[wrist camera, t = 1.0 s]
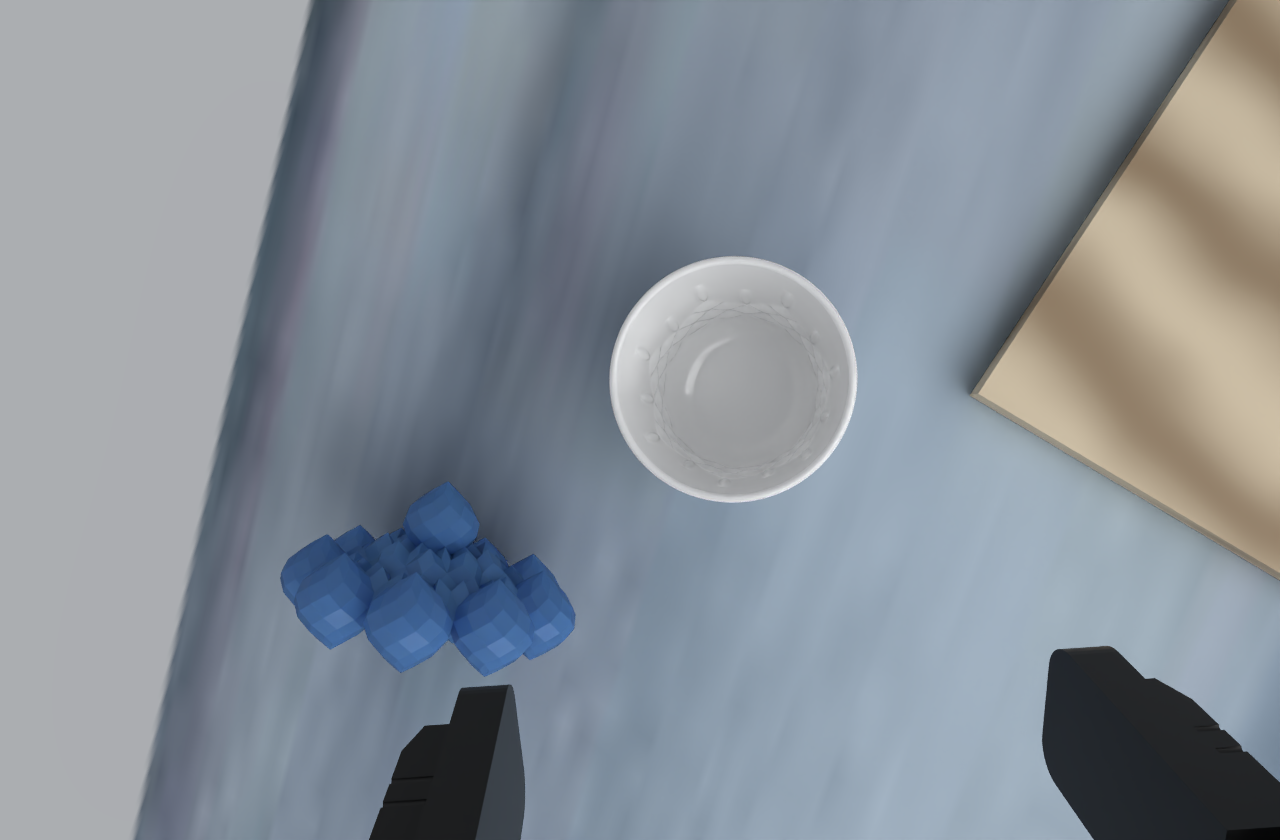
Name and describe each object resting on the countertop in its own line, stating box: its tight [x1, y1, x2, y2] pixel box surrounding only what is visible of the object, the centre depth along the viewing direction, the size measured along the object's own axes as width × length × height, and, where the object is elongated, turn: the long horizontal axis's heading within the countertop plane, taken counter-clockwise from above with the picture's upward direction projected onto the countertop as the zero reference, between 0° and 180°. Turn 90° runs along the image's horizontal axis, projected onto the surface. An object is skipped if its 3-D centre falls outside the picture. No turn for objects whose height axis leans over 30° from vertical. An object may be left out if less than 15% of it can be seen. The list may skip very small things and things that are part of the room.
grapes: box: [280, 482, 576, 677], centre depth 32 cm, size 12×7×12 cm, turn 80°
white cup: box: [609, 256, 857, 502], centre depth 32 cm, size 8×8×10 cm
